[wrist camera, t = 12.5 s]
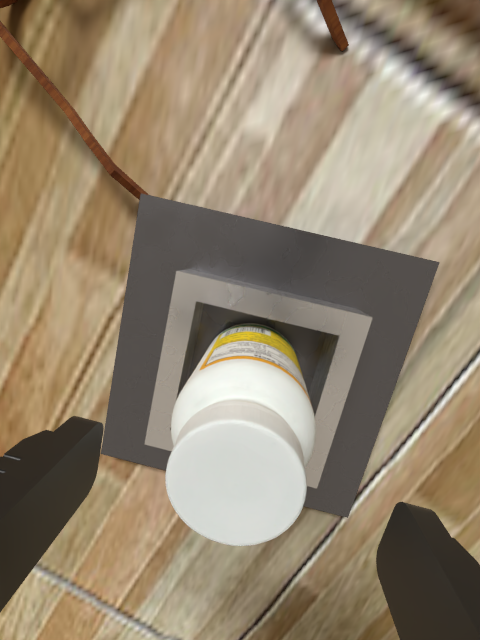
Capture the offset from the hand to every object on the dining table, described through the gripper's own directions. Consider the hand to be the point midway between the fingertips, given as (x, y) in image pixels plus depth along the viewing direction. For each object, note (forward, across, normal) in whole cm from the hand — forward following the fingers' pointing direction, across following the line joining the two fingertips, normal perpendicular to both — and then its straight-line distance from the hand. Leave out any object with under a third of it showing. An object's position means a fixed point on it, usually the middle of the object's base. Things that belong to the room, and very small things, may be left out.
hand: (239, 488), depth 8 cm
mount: (+11, 0, 0) cm, 11 cm away
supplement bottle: (+10, 0, 0) cm, 10 cm away
